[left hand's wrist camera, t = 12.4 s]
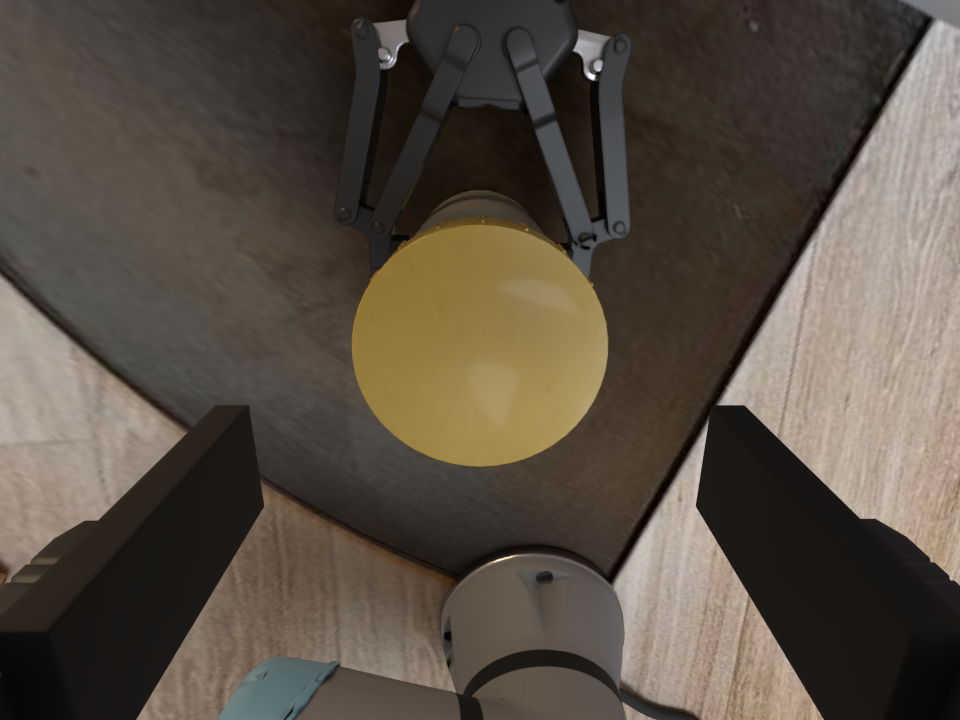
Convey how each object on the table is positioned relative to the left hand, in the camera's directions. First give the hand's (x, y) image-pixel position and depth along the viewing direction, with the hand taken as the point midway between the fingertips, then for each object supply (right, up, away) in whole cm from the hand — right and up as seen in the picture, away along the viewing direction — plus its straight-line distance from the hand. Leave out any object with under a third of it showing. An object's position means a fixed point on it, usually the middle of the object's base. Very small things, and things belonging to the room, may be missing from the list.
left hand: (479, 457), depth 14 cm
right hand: (0, +3, +21) cm, 21 cm away
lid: (0, +3, +7) cm, 7 cm away
